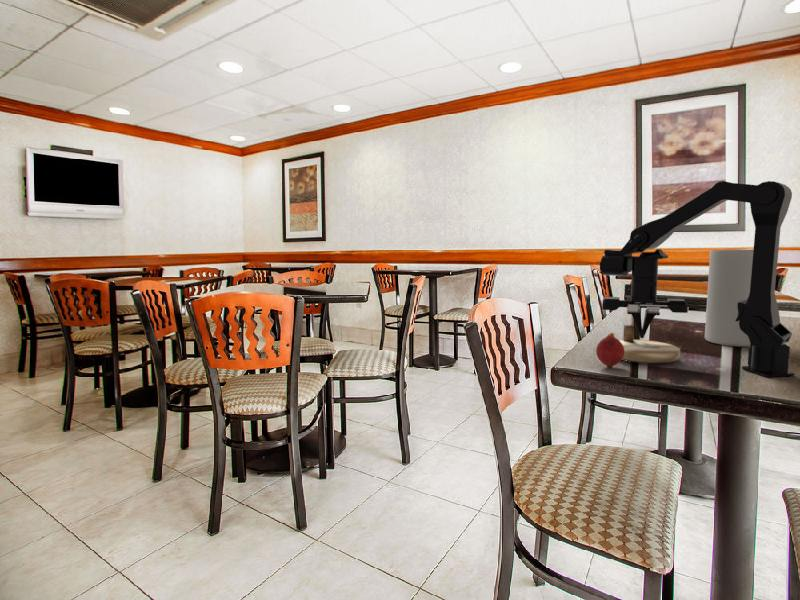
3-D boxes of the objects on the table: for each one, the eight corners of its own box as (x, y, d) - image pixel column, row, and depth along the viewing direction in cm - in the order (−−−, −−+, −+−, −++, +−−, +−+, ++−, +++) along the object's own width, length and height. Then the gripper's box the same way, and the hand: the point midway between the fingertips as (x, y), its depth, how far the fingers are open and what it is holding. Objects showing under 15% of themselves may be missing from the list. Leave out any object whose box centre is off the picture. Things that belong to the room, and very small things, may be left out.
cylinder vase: (703, 335, 134) (708, 250, 130) (757, 339, 127) (764, 249, 124) (705, 344, 123) (711, 251, 120) (764, 349, 117) (772, 251, 113)
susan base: (681, 362, 106) (681, 360, 106) (632, 365, 105) (632, 362, 105) (649, 350, 118) (649, 348, 118) (604, 352, 117) (604, 350, 117)
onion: (620, 372, 100) (621, 336, 99) (592, 368, 103) (593, 333, 102) (626, 366, 104) (627, 331, 103) (599, 362, 108) (600, 329, 107)
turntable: (695, 361, 104) (696, 336, 103) (624, 363, 104) (625, 338, 103) (656, 345, 119) (657, 323, 119) (594, 346, 120) (595, 325, 119)
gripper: (683, 274, 117) (680, 334, 119) (604, 274, 125) (602, 329, 127) (689, 278, 107) (686, 343, 109) (603, 277, 115) (601, 338, 117)
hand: (641, 338), depth 116 cm, fingers closed
